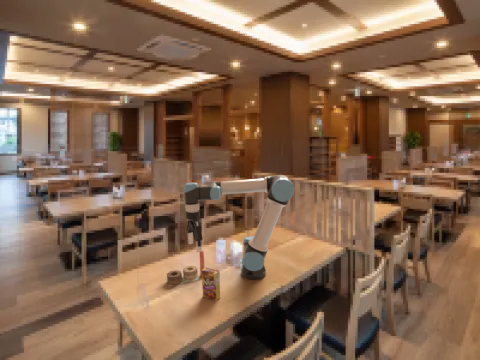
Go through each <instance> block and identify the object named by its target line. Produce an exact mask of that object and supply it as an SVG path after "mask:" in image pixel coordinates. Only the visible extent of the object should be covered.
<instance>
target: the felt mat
mask: <svg viewBox="0 0 480 360" xmlns="http://www.w3.org/2000/svg"><path fill="white" fill-rule="evenodd" d="M165 280H166V281H167V278H165ZM195 281H200V277H199V276H198V277H196V278H195V279H192V280H186V279H184V277H183V274H182V282H181V283H180V284H179V285H182V284H187V283H191V282H195ZM167 284H168V283H167ZM174 286H175V285H169V284H168V287H174Z"/></svg>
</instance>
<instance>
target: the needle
mask: <svg viewBox="0 0 480 360" xmlns="http://www.w3.org/2000/svg"><path fill="white" fill-rule="evenodd" d="M204 268H206V267H205V251H204V250H202V251H201V252H199V270H200V277H202V270H203V269H204Z"/></svg>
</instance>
